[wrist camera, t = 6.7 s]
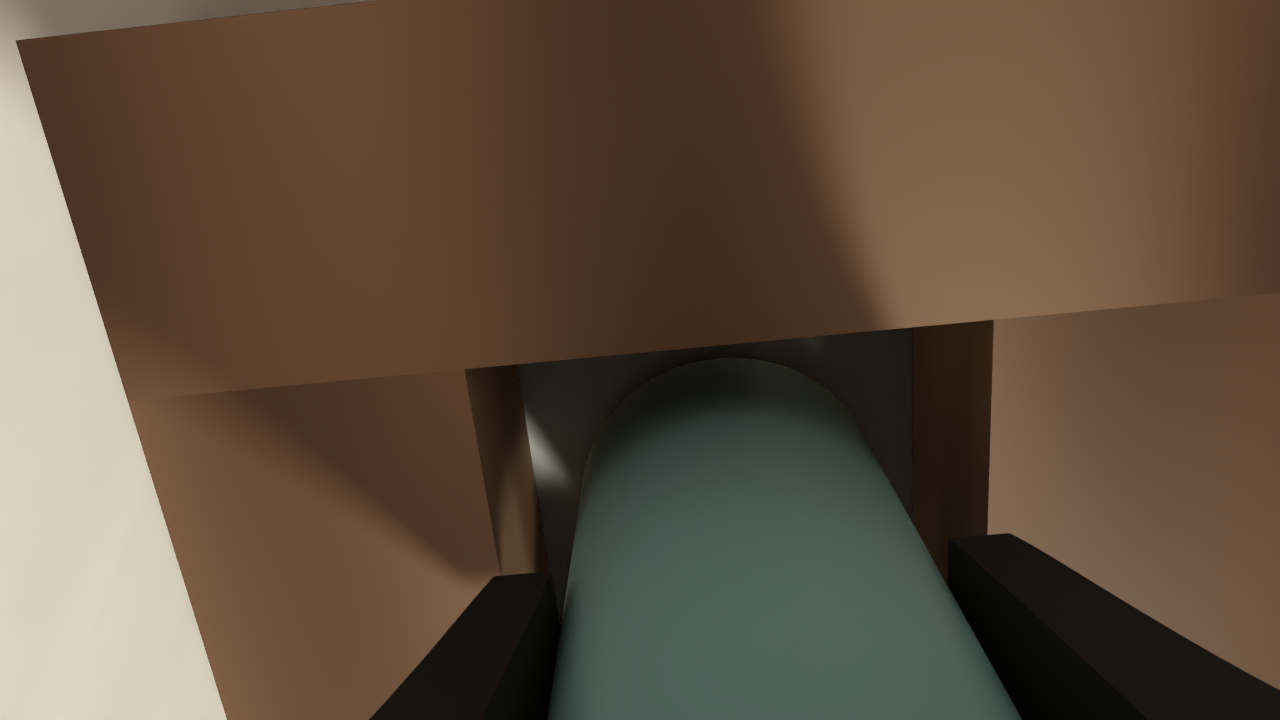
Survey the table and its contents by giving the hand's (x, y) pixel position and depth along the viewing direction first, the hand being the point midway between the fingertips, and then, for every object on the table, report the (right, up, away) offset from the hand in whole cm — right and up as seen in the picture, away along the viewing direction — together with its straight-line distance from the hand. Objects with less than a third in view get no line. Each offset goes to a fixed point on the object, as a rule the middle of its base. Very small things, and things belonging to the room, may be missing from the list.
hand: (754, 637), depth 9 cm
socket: (0, +1, +4) cm, 4 cm away
